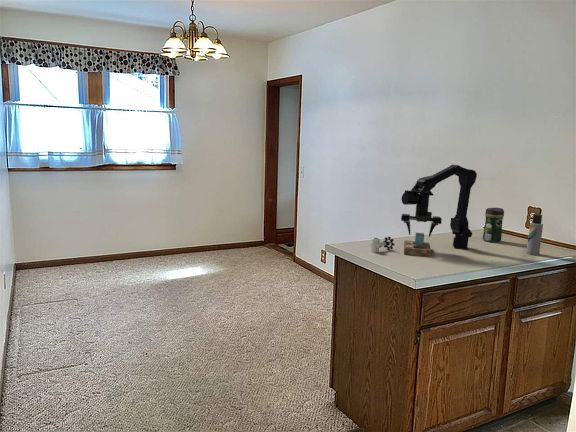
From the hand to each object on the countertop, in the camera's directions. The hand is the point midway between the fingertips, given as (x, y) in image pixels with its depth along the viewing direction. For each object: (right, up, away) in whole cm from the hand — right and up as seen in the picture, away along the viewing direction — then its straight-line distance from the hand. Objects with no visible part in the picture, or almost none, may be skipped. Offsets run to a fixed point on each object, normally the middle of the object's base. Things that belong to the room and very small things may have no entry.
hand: (419, 236), depth 234 cm
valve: (-20, -7, -5) cm, 22 cm away
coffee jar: (+48, -4, +30) cm, 57 cm away
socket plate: (-2, -7, -3) cm, 8 cm away
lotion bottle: (+57, -9, +3) cm, 57 cm away
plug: (0, -7, +1) cm, 7 cm away
